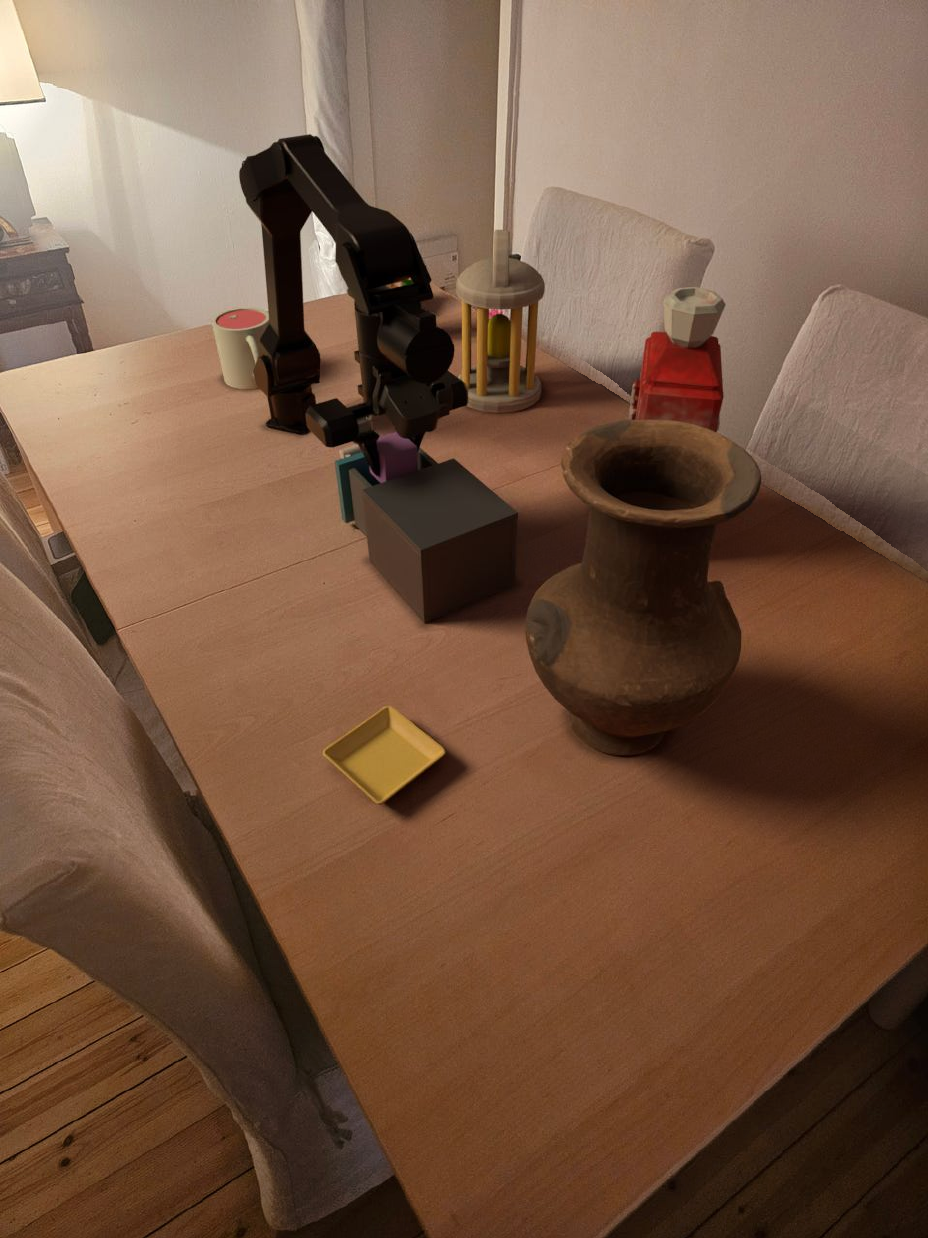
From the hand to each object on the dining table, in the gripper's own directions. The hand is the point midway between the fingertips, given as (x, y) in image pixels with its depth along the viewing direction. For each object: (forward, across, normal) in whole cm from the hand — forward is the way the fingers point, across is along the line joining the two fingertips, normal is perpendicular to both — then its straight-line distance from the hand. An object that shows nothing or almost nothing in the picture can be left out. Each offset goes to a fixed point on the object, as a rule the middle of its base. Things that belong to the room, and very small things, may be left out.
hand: (393, 468), depth 101 cm
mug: (+9, 0, +49) cm, 50 cm away
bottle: (+9, +28, -18) cm, 35 cm away
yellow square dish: (+9, -20, -33) cm, 39 cm away
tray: (+8, 0, +1) cm, 8 cm away
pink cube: (+1, 0, 0) cm, 1 cm away
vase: (+9, +3, -40) cm, 41 cm away
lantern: (+9, +32, +24) cm, 41 cm away
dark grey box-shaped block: (+9, 0, -11) cm, 14 cm away
